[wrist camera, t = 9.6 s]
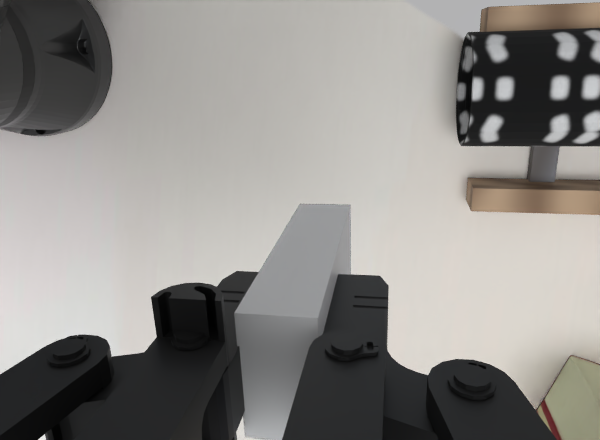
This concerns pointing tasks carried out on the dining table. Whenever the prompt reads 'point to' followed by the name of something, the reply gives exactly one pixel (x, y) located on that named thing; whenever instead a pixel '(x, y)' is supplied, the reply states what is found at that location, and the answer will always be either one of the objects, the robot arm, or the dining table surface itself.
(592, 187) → the cradle
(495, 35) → the spotted tube
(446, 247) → the dining table surface
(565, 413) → the gift box
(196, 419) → the robot arm
